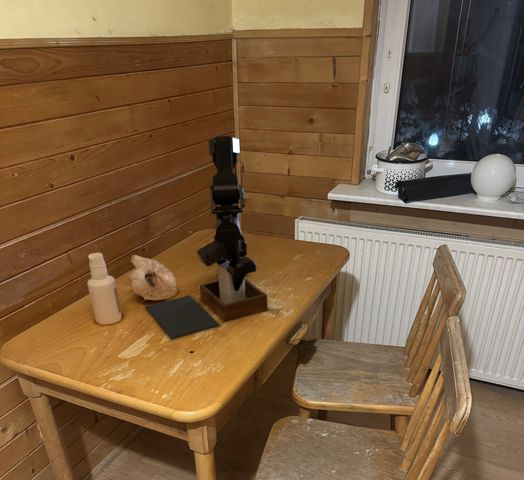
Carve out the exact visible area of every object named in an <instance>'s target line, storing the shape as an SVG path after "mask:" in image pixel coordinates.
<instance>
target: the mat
mask: <svg viewBox="0 0 524 480" xmlns="http://www.w3.org/2000/svg"><path fill="white" fill-rule="evenodd" d="M145 309H146V310H147V311H148V313H149V314H150V315H151V316H152V318H153V319H154V320H155V321H156V322H157V324H158V325H159V327H161V328H162V330H163V331H164V333H165V334H166V335H167V336H168V338H169V339H170V340H174V339H177V338H178V339H179V338H181V337H184V336H185V337H186V336H188V335H192V334H196V333H199V332H203V331H206V330H209V329H213V328H216V327H220V323H218V321H217V320H216V319H215V318H214V317H213V316H212V315H210V313H209V312H207V311H206V309H204V307H202V306H201V305H200V304H199V302H197V301H196V299H194V298H193V297H192V296H191V295H185V296H181V297H177V298H174V299H169V300H165V301H161V302H156V303H153V304H150V305H146V306H145Z"/></svg>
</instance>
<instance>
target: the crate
mask: <svg viewBox="0 0 524 480" xmlns="http://www.w3.org/2000/svg"><path fill="white" fill-rule="evenodd" d="M244 281H245V297H247V298H245V299H244V300H240V301H236V302H233V303H229V304H224V303H223V302H222V301H221V300H220V298H219V297H220V290H219V279H218V280H213V281H209V282H206V283H201V284H199V295H200V300H201V301H202V302H203V303H204V304H205V305H206V306H207V307H209V309H210V310H211V311H213V312H214V313H215V314H216V315H217V316H218V317H219V318H220V319H221V320H222V321H223V322H224V323H226V322H229V321H233V320H237V319H240V318H244V317H247V316H250V315H251V316H252V315H254V314H258V313H261V312H265V311H268V310H269V309H268V294H267V293H265V292H264V291H263V290H261V289H260V288H259V287H257V286H256V285H255V284H253V283H252V282H250V281H249V280H248V279H246V277H245V278H244Z"/></svg>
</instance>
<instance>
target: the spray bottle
mask: <svg viewBox="0 0 524 480" xmlns="http://www.w3.org/2000/svg"><path fill="white" fill-rule="evenodd" d="M87 258H88V261H89V263H88V266H89V270H90V277H91V278H90V279H88V280H87V283H86V284H87V285H86V286H87V290H88V294H89V297H90V303H91V306H92V312H93V315H94V319H95V322H96V323H97V324H98V325H101V326H102V325H103V326H107V325H112V324H117V323H118V322H120V321H121V320H122V319H123V318H122V317H123V314H122V310H121V304H120V300H119V299H120V298H119V294H118V290H117V289H118V288H117V284H116V280H115V278H114V276H112V275H109V273H108V269H107V265H106V261H105V259H104V255H103V253H102V252H93V253H90V254H88V257H87Z"/></svg>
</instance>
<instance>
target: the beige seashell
mask: <svg viewBox="0 0 524 480" xmlns="http://www.w3.org/2000/svg"><path fill="white" fill-rule="evenodd" d="M130 263H132V264H133V266H134V267H135V269H134V270H132V271H131V272H130V273H129V274H128V276H129V279H130V280H131V283H130V287H131V288H132V290H133V292H134V294H136V295H137V296H141V297H142V298H143V300H142V303H143V302H146V301H148V300H150V301H159V300H168V299H171V298H172V297H174V296H176V294H178V286H177V282H176V279H177V278H176V276H175V275H174V274H173V272H172V271H170V269H168V268H167V267H166V266H165V265H164V263H161V262H159V260H156V259H152V258H149V257H143V256H141V255H140V256H139V255H136V254H133V255H132V256H131V260H130Z"/></svg>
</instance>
